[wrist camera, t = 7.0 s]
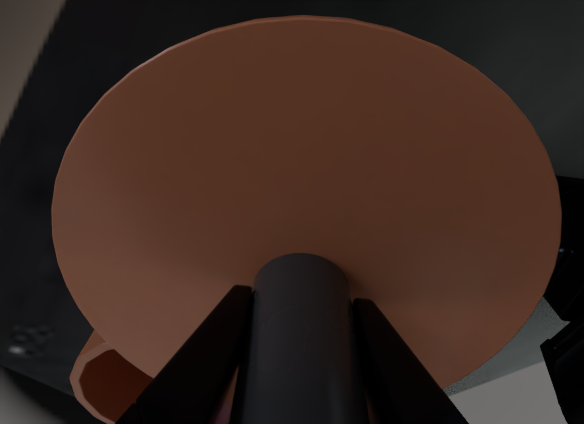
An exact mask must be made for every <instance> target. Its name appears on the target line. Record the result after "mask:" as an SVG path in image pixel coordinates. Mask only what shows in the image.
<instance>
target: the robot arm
mask: <svg viewBox="0 0 584 424" xmlns="http://www.w3.org/2000/svg"><path fill="white" fill-rule="evenodd" d="M555 176H556V175H555ZM556 179H557V182H558V189H559V196H560V203H561V210H562V221H561V242H560V246H559V251H558V255H557V259H556V264H555V268H554V271H553V273H552V276H551V278H550V281H549V283H548V286H547V288H546V291H545V293H544V295H543V297H544V298H545V299H546V301H547V302H548V303H549V304H550V306H551V307H552V308H553V310H554V311H555V312H556V313H557V315H558V316H559V317H560V319H561V320H563V321H571V322H570V323H569V324H568V325H566V326H565V327H564V328H563V329H562V330H561V331H559V332H558V333H557V334H556V335H555V336H554V337H552V338H551V339H547V340H546V341H545V342H543V343H542V344H541V345H540V348H541V351H542V354H543V357H544V360H545V363H546V366H547V369H548V372H549V375H550V378H551V381H552V384H553V387H554V390H555V392H556V396H557V399H558V403H559V405H560V407H561V410H562V413H563V415H564V417H565V420H566V421H567V423H568V424H584V179H579V178H571V177H564V176H556ZM251 295H252V288H251V286H247V285H238V284H236V285H234V286H233V287H232V288H231V289H230V290H229V291H228V293H227V294H226V295H225V296H224V297H223V298H222V300H221V301H220V302H219V303H218V304H217V305H216V306H215V308H214V309H213V310H212V311H211V312H210V313H209V315H208V316H207V317H206V318H205V319H204V320H203V322H202V323H201V324H200V325H199V326H198V327H197V329H196V330H195V331H194V332H193V333H192V334H191V336H190V337H189V338H188V339H187V340H186V341H185V343H184V344H183V345H182V346H181V347H180V348H179V350H178V351H177V352H176V353H175V354H174V355H173V357H172V358H171V359H170V360H169V361H168V362H167V364H166V365H165V366H164V367H163V368H162V369H161V371H160V372H159V373H158V374H157V375H156V376H155V378H154V379H153V380H152V381H151V382H150V383H149V384H148V386H147V387H146V388H145V389H144V390H143V391H142V393H141V394H140V395H139V396H138V397H137V398H136V403H132V404H131V405H130V406H129V407H128V409H127V410H126V411H125V412H124V413H123V415H122V416H121V417H120V418H119V419H118V420H117V421H116V423H115V424H229V419H230V413H231V407H232V401H233V396H234V390H235V384H236V379H237V373H238V367H239V361H240V356H241V350H242V346H243V341H244V335H245V329H246V324H247V318H248V312H249V306H250V301H251ZM352 308H353V315H354V322H355V328H356V335H357V342H358V348H359V355H360V361H361V368H362V375H363V381H364V388H365V395H366V401H367V408H368V415H369V421H370V424H469V423H468V422H467V421H466V419H465V418H464V417H463V416H462V414H461V413H460V412H459V411H458V409H457V408H456V407H455V405H454V404H453V403H452V401H451V400H450V399H449V398H448V396H447V395H446V394H445V392H444V391H443V390H442V389H441V387H440V386H439V385H438V383H437V382H436V381H435V380H434V378H433V377H432V376H431V374H430V373H429V372H428V371H427V369H426V368H425V367H424V365H423V364H422V363H421V362H420V360H419V359H418V358H417V357H416V355H415V354H414V353H413V351H412V350H411V349H410V348H409V346H408V345H407V344H406V342H405V341H404V340H403V339H402V337H401V336H400V335H399V333H398V332H397V331H396V330H395V328H394V327H393V326H392V324H391V323H390V322H389V321H388V319H387V318H386V317H385V315H384V314H383V313H382V312H381V310H380V309H379V308H378V307H377V305H376V304H375V303H374V301H372V300H371V299H365V298H355V299H354V300H353V302H352Z"/></svg>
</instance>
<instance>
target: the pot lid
mask: <svg viewBox="0 0 584 424" xmlns="http://www.w3.org/2000/svg"><path fill="white" fill-rule="evenodd" d="M561 221H562V210H561V203H560V196H559V189H558V182H557V179H556V176H555V173H554V170H553V167H552V164H551V162H550V159H549V156H548V153H547V151H546V149H545V147H544V145H543V144H542V142H541V140H540V138H539V136H538V135H537V133H536V131H535V129H534V128H533V126H532V124H531V122H530V121H529V120H528V119H527V117H526V116H525V115H524V114H523V113H522V112H521V110H520V109H519V108H518V107H517V106H516V104H515V103H514V102H513V101H512V100H511V98H510V97H509V96H508V95H507V94H506V93H505V92H504V91H503V90H502V89H500V88H499V87H498V86H497V85H496V84H494V83H493V82H492V81H491V80H490V79H488V78H487V77H486V76H485V75H484V74H482V73H481V72H480V71H479V70H478V69H476V68H475V67H473V66H472V65H470V64H468V63H467V62H465V61H463V60H461V59H460V58H458V57H456V56H455V55H453V54H451V53H449V52H448V51H446V50H444V49H443V48H441V47H439V46H437V45H435V44H432V43H430V42H427V41H425V40H422V39H419V38H417V37H414V36H412V35H409V34H407V33H404V32H401V31H399V30H396V29H394V28H391V27H386V26H382V25H377V24H373V23H368V22H363V21H359V20H354V19H350V18H340V17H324V16H309V15H297V16H285V17H273V18H261V19H254V20H250V21H246V22H242V23H238V24H233V25H229V26H225V27H221V28H217V29H213V30H211V31H208V32H206V33H203V34H201V35H198V36H196V37H194V38H191V39H189V40H186V41H184V42H181V43H179V44H176V45H174V46H172V47H169V48H167V49H166V50H164V51H162V52H161V53H159V54H158V55H156V56H154V57H153V58H151V59H149V60H148V61H146V62H144V63H143V64H141V65H139V66H138V67H136V68H135V69H133V70H132V71H131V72H129V73H128V74H127V75H126V76H125V77H124V78H122V79H121V80H120V81H119V82H118V83H117V84H116V85H114V86H113V87H112V88H111V89H110V90H109V91H107V92H106V93H105V94H104V95H103V96H102V97H101V99H100V100H99V101H98V102H97V104H96V105H95V106H94V107H93V108H92V110H91V111H90V112H89V113H88V115H87V116H86V117H85V118H84V120H83V121H82V122H81V124H80V125H79V127H78V129H77V131H76V133H75V135H74V136H73V138H72V140H71V142H70V144H69V145H68V147H67V149H66V151H65V154H64V157H63V160H62V163H61V166H60V169H59V172H58V175H57V178H56V181H55V188H54V195H53V202H52V236H53V241H54V246H55V251H56V256H57V261H58V264H59V267H60V269H61V272H62V275H63V277H64V280H65V283H66V285H67V287H68V289H69V291H70V293H71V295H72V297H73V298H74V300H75V302H76V304H77V306H78V307H79V309H80V310H81V312H82V313H83V314H84V316H85V317H86V318H87V320H88V321H89V323H90V324H91V325H92V327H93V328H94V329H95V330H96V331H97V332H98V333H99V334H100V335H101V337H102V338H103V339H104V340H105V341H106V342H107V343H108V344H109V345H110V346H111V347H112V348H113V349H115V350H116V351H117V352H118V353H119V354H120V355H121V356H123V357H124V358H125V359H126V360H127V361H129V362H130V363H132V364H133V365H134V366H136V367H137V368H139V369H140V370H141V371H143V372H144V373H146V374H147V375H149V376H151V377H152V378H155V376H156V375H157V374H158V373H159V372H160V371H161V369H162V368H163V367H164V366H165V365H166V364H167V362H168V361H169V360H170V359H171V358H172V357H173V355H174V354H175V353H176V352H177V351H178V350H179V348H180V347H181V346H182V345H183V344H184V343H185V341H186V340H187V339H188V338H189V337H190V336H191V334H192V333H193V332H194V331H195V330H196V329H197V327H198V326H199V325H200V324H201V323H202V322H203V320H204V319H205V318H206V317H207V316H208V315H209V313H210V312H211V311H212V310H213V309H214V308H215V306H216V305H217V304H218V303H219V302H220V301H221V300H222V298H223V297H224V296H225V295H226V294H227V293H228V291H229V290H230V289H231V288H232V287H233V286H234V285H236V284H238V285H247V286H251V288H252V295H251V301H250V306H249V312H248V318H247V324H246V329H245V335H244V341H243V346H242V350H241V356H240V361H239V367H238V373H237V379H236V384H235V390H234V396H233V401H232V407H231V413H230V419H229V424H370V421H369V415H368V408H367V401H366V395H365V388H364V381H363V375H362V368H361V361H360V355H359V348H358V342H357V335H356V328H355V322H354V315H353V308H352V302H353V300H354V299H355V298H365V299H371V300H372V301H374V303H375V304H376V305H377V307H378V308H379V309H380V310H381V312H382V313H383V314H384V315H385V317H386V318H387V319H388V321H389V322H390V323H391V324H392V326H393V327H394V328H395V330H396V331H397V332H398V333H399V335H400V336H401V337H402V339H403V340H404V341H405V342H406V344H407V345H408V346H409V348H410V349H411V350H412V351H413V353H414V354H415V355H416V357H417V358H418V359H419V360H420V362H421V363H422V364H423V365H424V367H425V368H426V369H427V371H428V372H429V373H430V374H431V376H432V377H433V378H434V380H435V381H436V382H437V383H438V385H439V386H440V387H441V389H444V388H446V387H448V386H449V385H451V384H453V383H455V382H457V381H459V380H461V379H462V378H464V377H465V376H467V375H468V374H470V373H471V372H473V371H475V370H476V369H478V368H479V367H480V366H482V365H483V364H484V363H485V362H487V361H488V360H489V359H490V358H492V357H493V356H494V355H496V354H497V353H498V352H499V351H500V350H501V349H502V348H503V347H504V346H505V345H506V344H507V343H508V342H509V341H510V340H511V339H512V338H513V337H514V336H515V335H516V334H517V333H518V331H519V330H520V329H521V328H522V326H523V325H524V324H525V323H526V321H527V320H528V319H529V317H530V316H531V315H532V313H533V312H534V310H535V308H536V306H537V305H538V303H539V301H540V300H541V298H542V296H543V295H544V293H545V291H546V288H547V286H548V283H549V281H550V278H551V276H552V273H553V271H554V268H555V264H556V259H557V255H558V251H559V246H560V242H561Z"/></svg>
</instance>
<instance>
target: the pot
mask: <svg viewBox="0 0 584 424" xmlns="http://www.w3.org/2000/svg"><path fill="white" fill-rule="evenodd" d="M153 379H154V378H152V377H151V376H149V375H147V374H146V373H144V372H143V371H141V370H140V369H139V368H137V367H136V366H134V365H133V364H132V363H130V362H129V361H127V360H126V359H125V358H124V357H123V356H121V355H120V354H119V353H118V352H117V351H116V350H115V349H113V348H112V347H111V346H110V345H109V344H108V343H107V342H106V341H105V340H104V339H103V338H102V337H101V335H100V334H99V333H98V332H97V331H96V330H94V332H93V333H92V335H91V337H90V338H89V340H88V341H87V343H86V345H85V346H84V348H83V350H82V351H81V353H80V355H79V356H78V358H77V360H76V362H75V365H74V367H73V370H72V372H71V375H70V381H71V384H72V387H73V390H74V393H75V396H76V399H77V400H78V401H79V402H80V403H81V404H82V405H83V406H84V407H85V408H86V409H87V410H88V411H89V412H90V413H91V414H92V415H93V416H94V417H96V418H98V419H100V420H102V421H103V422H105V423H107V424H115V423H116V421H117V420H118V419H119V418H120V417H121V416H122V415H123V413H124V412H125V411H126V410H127V409H128V407H129V406H130V405H131V404H132V403H136V398H137V397H138V396H139V395H140V394H141V393H142V391H143V390H144V389H145V388H146V387H147V386H148V384H149V383H150V382H151V381H152V380H153Z"/></svg>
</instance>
